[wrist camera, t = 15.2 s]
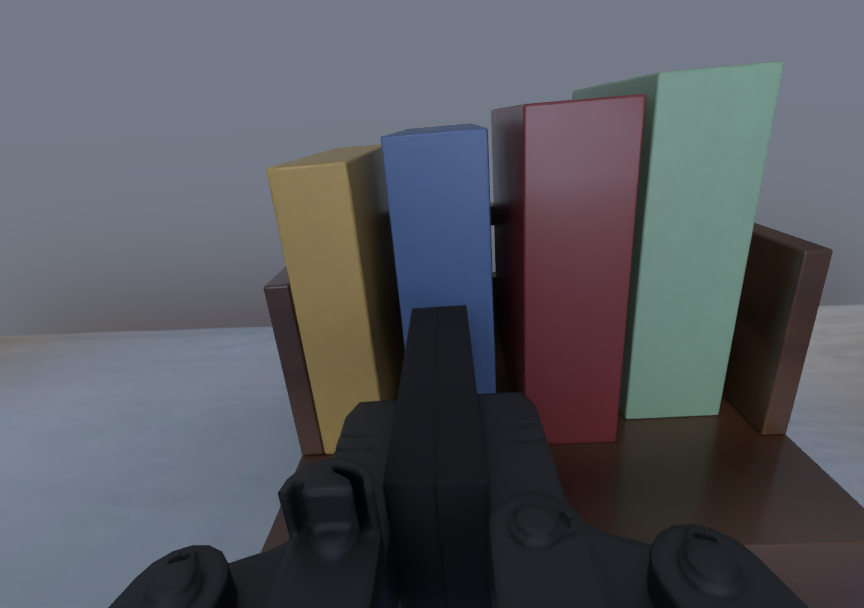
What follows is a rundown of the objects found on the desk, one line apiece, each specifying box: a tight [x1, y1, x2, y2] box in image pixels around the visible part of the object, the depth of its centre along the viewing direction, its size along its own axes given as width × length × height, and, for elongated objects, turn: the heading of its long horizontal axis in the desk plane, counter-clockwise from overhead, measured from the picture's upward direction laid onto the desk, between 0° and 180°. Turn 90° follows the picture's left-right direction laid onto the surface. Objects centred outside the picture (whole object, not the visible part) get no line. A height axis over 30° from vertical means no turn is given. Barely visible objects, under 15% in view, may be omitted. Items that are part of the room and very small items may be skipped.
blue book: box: [381, 124, 496, 394], centre depth 19 cm, size 9×3×10 cm, turn 178°
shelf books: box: [266, 94, 646, 454], centre depth 18 cm, size 9×10×10 cm
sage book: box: [573, 62, 783, 419], centre depth 18 cm, size 9×3×11 cm, turn 178°
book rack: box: [261, 203, 864, 608], centre depth 18 cm, size 15×16×9 cm
